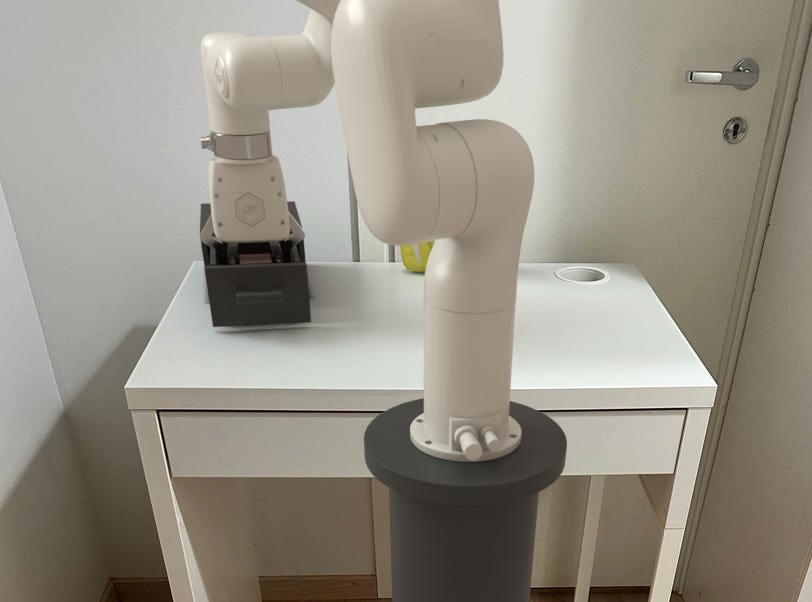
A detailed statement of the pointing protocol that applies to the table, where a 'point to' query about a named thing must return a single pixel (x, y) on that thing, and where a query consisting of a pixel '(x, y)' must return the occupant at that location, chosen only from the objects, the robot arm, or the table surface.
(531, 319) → the table surface
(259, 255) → the block
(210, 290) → the drawer
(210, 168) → the robot arm
